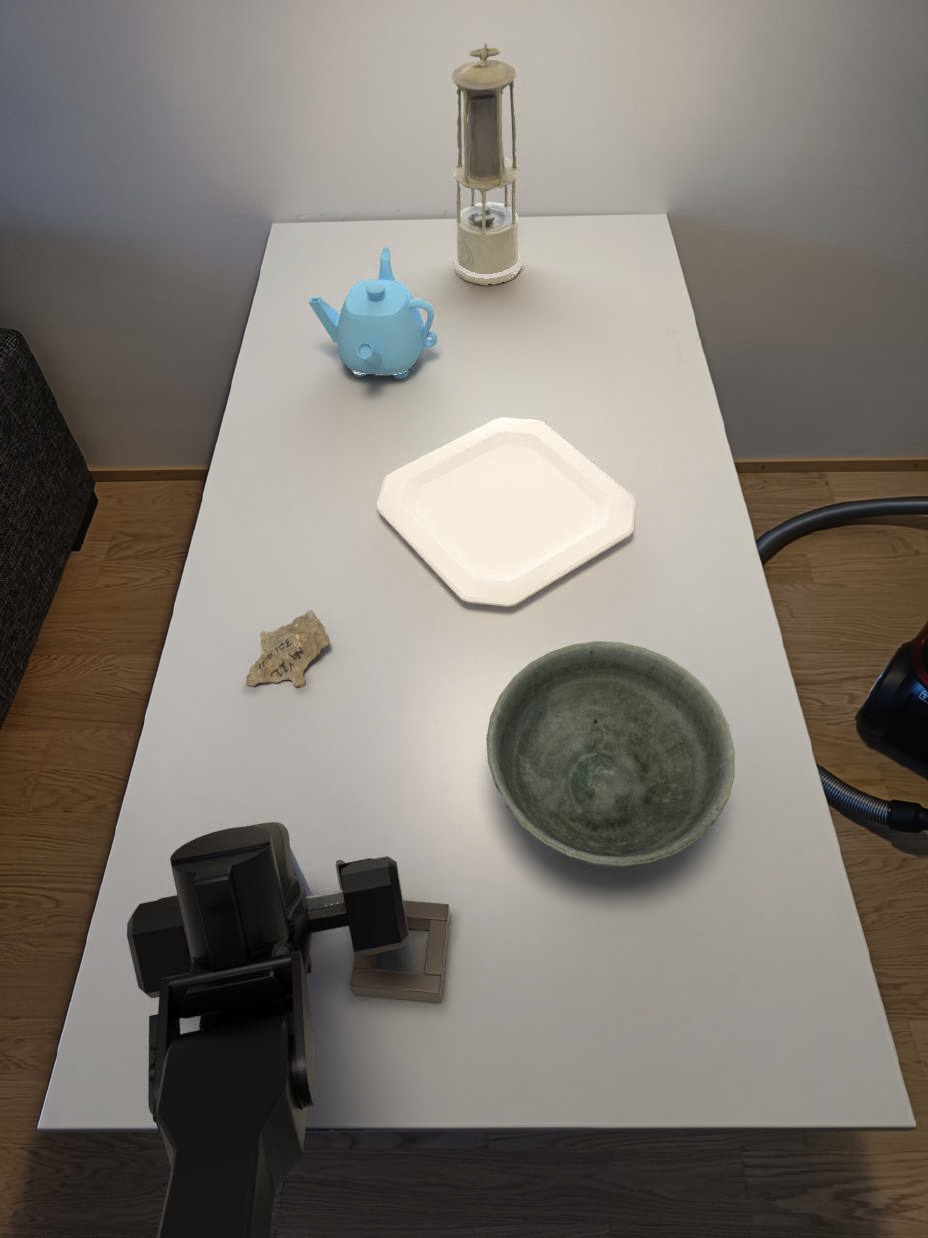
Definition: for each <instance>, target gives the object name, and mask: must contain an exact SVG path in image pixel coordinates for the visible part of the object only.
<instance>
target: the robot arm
mask: <svg viewBox="0 0 928 1238" xmlns="http://www.w3.org/2000/svg"><path fill="white" fill-rule="evenodd" d="M290 847H291V843H290V833H289V829H288V828H287V827H286V826H285V825H284V824H283V823H282V822H278V821H270V822H262V823H255V824H250V825H246V826H244V825H243V826H235V827H229V828H224V829H219V830H216V831H213V832H212V831H211V832H209V833H206V834H203V835H201V836H198V837H195V838H193V839H191V840H190V841H188V842H186V843H184V844H182V845H181V846H179V847H178V848H177V849H176V850H174V851H173V853H172V854H171V855H170V858H169V860H170V861H169V862H170V868H171V873H172V876H173V877H172V878H173V881H174V882H173V883H174V886H175V890H176V895H170V896H165V897H160V898H158V899H157V900H150V901H146V902H141V903H139V904H138V905H137V907H136V908H135V909H134V910H133V912H132V914H131V916H130V918H129V920H128V921H127V922H126V939H127V942H128V947H129V952H130V955H131V960H132V965H133V969H134V973H135V978H136V982H137V987H138V989H139V990H140V991H142V992H143V994H145V995H146V996H148V997H149V998H150V999H155V998H158V1005H157V1006H158V1007H157V1008H158V1009H157V1014H152V1015H148V1073H147V1074H148V1077H147V1079H148V1083H147V1085H148V1086H147V1087H148V1088H147V1089H148V1090H147V1101H148V1102H147V1103H148V1110H149V1113H150V1114H151V1115H152V1121H153V1123H155V1124H156V1127H157V1131H158V1133H159V1134H160V1136H161V1138H162V1141H163V1145H164V1148H165V1151H166V1155H167V1159H168V1162H169V1166H170V1173H169V1179H168V1184H167V1188H166V1193H165V1198H164V1203H163V1208H162V1212H161V1217H160V1221H159V1226H158V1231H157V1236H156V1238H271V1228H272V1218H273V1217H272V1216H273V1208H274V1203H275V1202H274V1201H275V1194H276V1193H277V1192H276V1191H277V1190H278V1189H279V1188H280V1187H281V1185H282V1184H283V1182H284V1181H285V1180H286V1179H287V1178H288V1177H289V1175H290V1173H291V1172H292V1171H293V1170H294V1169H295V1167H296V1166H297V1165H298V1164H299V1162H300V1161H301V1159H302V1157H303V1156H304V1155H303V1154H304V1147H305V1139H306V1138H305V1137H306V1129H307V1128H306V1127H307V1119H308V1118H307V1117H308V1108H309V1107H314V1106H316V1105H317V1103H318V1102H317V1101H318V1073H317V1063H316V1061H317V1060H316V1053H315V1043H314V1034H313V1024H312V1015H311V1014H312V1013H311V1005H310V995H309V986H308V979H307V978H308V975H309V974H312V971H313V970H312V969H313V963H312V958H311V948H312V947H311V945H312V940H313V939H312V937H313V934H315V933H319V932H325V931H330V930H335V929H339V928H345V927H348V931H349V934H350V939H351V944H352V949H353V953H354V957H355V956H356V957H360V956H365V955H370V954H375V953H378V954H379V953H384V952H385V953H386V952H389V951H395V950H400V949H404V946H405V945H406V944H407V942H408V940H409V939H410V934H409V933H410V932H409V929H408V924H407V919H406V913H405V907H404V901H403V900H404V896H403V891H402V885H401V878H400V875H399V874H400V873H399V867H398V863H397V860H395V859H393V858H391V857H390V856H388V855H386V856H382V857H375V858H372V857H371V858H363V859H359V860H354V861H348V862H345V861H344V860H342V859H337V860H336V861H335V870H336V876H337V882H338V887H339V890H334V891H330V892H324V893H318V894H314V895H313V894H312V895H313V896H307V897H306V893H305V887H304V884H301V885H299V881H298V879H297V878H296V877H294V871H293V864H292V857H291V850H292V849H291V850H290ZM314 907H316V908H315V909H314ZM309 908H310V910H309ZM198 1017H199V1025H198V1027H199V1029H197V1030H192V1031H188V1032H183V1033H181V1019H184V1020H186V1019H187V1020H188V1019H192V1018H198Z"/></svg>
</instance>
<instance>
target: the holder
mask: <svg viewBox="0 0 928 1238" xmlns="http://www.w3.org/2000/svg"><path fill="white" fill-rule="evenodd" d="M403 901H404V907H405V913H406V919H407V924H408V930H419V931H420V930H421V931H428V935H427V943H426V952H425V954H426V955H425V960H424V968H423V973H420V972H419V973H417V972H407V971H396V970H386V969H385V970H384V969H377V962H378V955H379V953H375V954H370V955H365V956H360V957H356V956H355V955H354V959H353V965H352V971H351V977H350V984H349V986H350V987H351V990H352V992H353V995H354V996H359V997H369V998H379V999H390V1000H401V1001H411V1002H412V1001H413V1002H422V1003H423V1002H424V1003H435V1004H442V1000H443V991H444V980H445V969H446V961H447V951H448V941H449V931H450V922H451V913H450V906H449V905H450V904H449V903H440V902H439V903H438V902H428V901H427V902H426V901H415V900H404V899H403Z"/></svg>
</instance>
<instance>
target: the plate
mask: <svg viewBox="0 0 928 1238" xmlns="http://www.w3.org/2000/svg"><path fill="white" fill-rule="evenodd" d="M381 483H382V484H381V487H380V491H379V494H378V497H377V501H376V503H375V506H376V511H377V512H378V513H379V514H380V515H381V516H382V517H383V518H384V519H385V520H386V522H387V523H388V524H389V525H390V526H391V527H392V528H393V529H394V530H395V531H396V532H397V533H398V535H400V537H402V538H403V540H404V541H405V542H406V543H407V544H408V545H409V546H410V547H411V548H412V549H413V550H414V551H415V552H416V553H417V554H418V556H419V557H421V558H422V560H423V561H424V562H425V563H426V564H427V565H428V566H429V568H430V569H432V570H433V572H434V573H435V574H436V575H437V576H438V577H439V578H440V579H441V580H442V582H444V583H445V585H447V586H448V587H449V589H450V590H451V591H453V593H454V594H455V595H456V596H457V597H458V598H459V599H460V600H462V601H464V602H466V603H468V604H469V603H471V604H480V605H488V606H489V605H490V606H497V607H509V608H510V607H513V606H517V605H518V604H520V603H522V602H523V601H525V600H526V599H528V598H530V597H531V596H533V595H535V594H537V593H538V592H539V591H541V590H542V589H544V588H546V587H548V586H549V585H551V584H553V583H554V582H556V581H557V580H560V579H561V578H563V577H564V576H566V575H567V574H570V573H571V572H572V571H574V570H576V569H577V568H579V567H581V566H583V565H585V564H586V563H588V562H590V560H592V559H594V558H596V557H597V556H599V555H601V554H602V553H604V552H606V551H607V550H609V549H610V548H612V547H614V546H616V545H617V544H618V543H620V542H622V541H623V540H625V539H627V538H628V537H631V536H632V534H633V533H634V531H635V524H636V523H635V521H636V506H637V504H636V503H637V501H636V499H635V497H634V495H632V494H631V493H630V492H629V491H628V490H626V489H625V488H624V487H622V486H621V485H620V484H619V483H617V481H615V480H614V479H613V478H612V477H611V476H609V475H608V474H607V473H606V472H604V471H603V470H602V469H601V468H600V467H598V466H597V465H596V464H595V463H593V462H592V461H591V460H590V459H588V458H587V457H586V456H585V455H584V454H583V453H581V452H580V451H579V450H578V449H576V448H575V447H574V446H573V445H572V444H571V443H570V442H568V441H567V440H566V439H565V438H563V437H562V436H561V435H560V434H558V433H557V432H556V431H555V430H554V429H552V427H550V426H549V425H547V424H546V422H544V421H542V420H539V419H529V418H518V417H516V418H515V417H505V416H503V417H497V418H495V419H493V420H491V421H488V422H487V423H486V424H483V425H481V426H479V427H477V428H475V429H473V430H472V431H469V432H467V433H466V434H464V435H462V436H460V437H458V438H456V439H454V440H452V441H449V442H448V443H446V444H444V445H442V446H440V447H438V448H436V449H434V450H432V451H430V452H429V453H426V454H424V455H423V456H421V457H418V458H416V459H414V460H412V461H411V462H409V463H407V464H405V465H403V466H401V467H399V468H397V469H395V470H393V471H391V472H389V473H387V475H385V476H384V478H383V480H382V482H381Z"/></svg>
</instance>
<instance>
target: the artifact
mask: <svg viewBox="0 0 928 1238" xmlns="http://www.w3.org/2000/svg"><path fill="white" fill-rule="evenodd" d="M259 636H260V650H261V653H260V657H259V658H258V659H257V661H256V662H255V663H254V664H253V665H252V666H251V667H250V668H249V671H248V674H247V675H246V677H245V678H246V679H245V680H246V681H245V682H246V683H245V684H246V686H249V687H255V686H256V685H258V684H265V683H275V684H279V683H280V682H282V681H286V680H290V681H291V683H292V684H293V685H294V686H295V687H296V688H302V687H304V686H305V685H306V678H305V676H304V673H305V670H306V669H307V668H308V666H309V664H310V663H311V662H312V661H313V660H314V659H316V658H317V656H318V655H319V654H320V653H321V650H322V649H324V648H326V646H329V645H330V644H331V642H330V637H329V636H328V632H327V631H326V628H325V625H324V624H323V623H322V622H321V620H319V618H318V617H317V615H316V614H315V613H314V611H313V610H312V609H308V610H307V612H305V614H303V615H300V616H297V617H295V618H294V619H293V621H292V622H291V623H288V624H286V625H282V626H280V627H279V628H277V629H275V630H274V631H271V632H270V631H269V632H268V631H266V630H265V631H261V632H260V634H259Z"/></svg>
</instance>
